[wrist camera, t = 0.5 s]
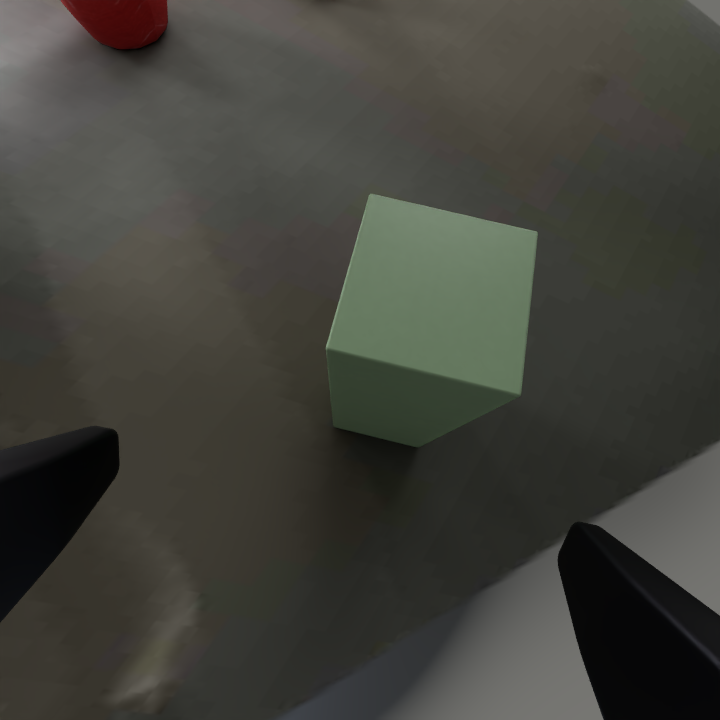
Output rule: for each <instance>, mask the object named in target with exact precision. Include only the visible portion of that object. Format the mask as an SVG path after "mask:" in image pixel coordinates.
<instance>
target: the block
mask: <svg viewBox="0 0 720 720" xmlns="http://www.w3.org/2000/svg"><path fill="white" fill-rule="evenodd" d="M537 237H538V233H537V232H536V231H531V230H527V229H522V228H518V227H514V226H509V225H505V224H501V223H496V222H492V221H488V220H483V219H479V218H475V217H470V216H466V215H462V214H457V213H453V212H449V211H444V210H440V209H436V208H431V207H427V206H423V205H418V204H414V203H410V202H405V201H401V200H396V199H392V198H388V197H383V196H379V195H375V194H370V195H369V198H368V201H367V205H366V208H365V212H364V215H363V219H362V222H361V226H360V229H359V233H358V236H357V240H356V243H355V247H354V250H353V254H352V257H351V261H350V264H349V268H348V271H347V275H346V279H345V282H344V286H343V289H342V293H341V296H340V300H339V303H338V307H337V310H336V314H335V317H334V321H333V324H332V328H331V331H330V335H329V338H328V342H327V345H326V354H327V364H328V375H329V385H330V396H331V406H332V416H333V426H334V427H336V428H340V429H344V430H348V431H352V432H357V433H361V434H365V435H369V436H373V437H377V438H381V439H385V440H389V441H393V442H397V443H401V444H405V445H409V446H413V447H417V448H419V447H421V446H423V445H425V444H427V443H429V442H431V441H433V440H435V439H437V438H439V437H441V436H443V435H445V434H447V433H449V432H451V431H453V430H454V429H456V428H458V427H460V426H462V425H464V424H466V423H468V422H470V421H472V420H474V419H476V418H478V417H480V416H482V415H484V414H486V413H488V412H490V411H492V410H494V409H496V408H498V407H500V406H502V405H504V404H506V403H508V402H510V401H512V400H514V399H516V398H518V397H520V395H521V390H522V380H523V371H524V361H525V352H526V342H527V333H528V323H529V313H530V304H531V294H532V285H533V275H534V266H535V256H536V247H537Z"/></svg>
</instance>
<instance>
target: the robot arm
mask: <svg viewBox="0 0 720 720" xmlns="http://www.w3.org/2000/svg"><path fill="white" fill-rule="evenodd" d="M118 470H119V439H118V434H117V432H116V431H115V430H114V429H110V428H105V427H100V426H90V427H86V428H83V429H79V430H75V431H71V432H67V433H64V434H60V435H56V436H52V437H49V438H45V439H41V440H37V441H34V442H30V443H26V444H22V445H19V446H15V447H11V448H7V449H3V450H0V622H1V621H2V620H3V619H4V618H5V616H6V615H7V614H8V613H9V612H10V611H11V610H12V608H13V607H14V606H15V605H16V604H17V603H18V601H19V600H20V599H21V598H22V597H23V596H24V595H25V593H26V592H27V591H28V590H29V589H30V588H31V586H32V585H33V584H34V583H35V582H36V581H37V579H38V578H39V577H40V576H41V575H42V574H43V573H44V571H45V570H46V569H47V568H48V567H49V566H50V564H51V563H52V562H53V561H54V560H55V559H56V557H57V556H58V555H59V554H60V553H61V551H62V550H63V549H64V548H65V546H66V545H67V544H68V542H69V541H70V540H71V538H72V537H73V536H74V534H75V533H76V532H77V530H78V529H79V527H80V526H81V525H82V523H83V522H84V521H85V519H86V518H87V516H88V515H89V514H90V512H91V511H92V509H93V508H94V507H95V505H96V504H97V502H98V501H99V500H100V498H101V497H102V495H103V494H104V493H105V491H106V490H107V488H108V487H109V486H110V484H111V483H112V482H113V480H114V479H115V477H116V475H117V473H118ZM558 568H559V572H560V576H561V580H562V584H563V588H564V592H565V595H566V599H567V603H568V607H569V611H570V615H571V619H572V623H573V627H574V631H575V635H576V639H577V642H578V645H579V649H580V653H581V655H582V659H583V662H584V665H585V668H586V671H587V674H588V676H589V679H590V682H591V685H592V687H593V691H594V693H595V696H596V699H597V702H598V705H599V708H600V711H601V714H602V716H603V719H604V720H720V616H719V615H718V614H717V613H715V612H714V611H713V610H711V609H710V608H709V607H707V606H706V605H704V604H703V603H702V602H701V601H699V600H698V599H697V598H695V597H694V596H692V595H691V594H690V593H688V592H687V591H686V590H684V589H683V588H682V587H680V586H679V585H678V584H676V583H675V582H674V581H672V580H671V579H670V578H668V577H667V576H665V575H664V574H663V573H661V572H660V571H659V570H658V569H656V568H655V567H653V566H652V565H651V564H649V563H648V562H647V561H645V560H644V559H643V558H641V557H640V556H638V555H637V554H636V553H635V552H633V551H632V550H631V549H629V548H628V547H626V546H625V545H624V544H623V543H621V542H620V541H618V540H617V539H616V538H614V537H613V536H612V535H610V534H609V533H608V532H606V531H605V530H604V529H602V528H601V527H599V526H597V525H593V524H588V523H583V522H576V523H574V524H573V525H572V526H571V528H570V530H569V532H568V534H567V536H566V538H565V540H564V543H563V545H562V547H561V549H560V551H559V554H558Z"/></svg>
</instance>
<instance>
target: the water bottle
mask: <svg viewBox="0 0 720 720" xmlns="http://www.w3.org/2000/svg"><path fill="white" fill-rule="evenodd" d="M61 2H62V3H63V4H64V6H65V7H66V8H67V9H68V10H69V11H70V13H71V14H72V15H73V16H74V17H75V18H76V19H77V20H78V22H79V23H80V24H81V25H82V26H83V27H84V28H85V29H86V30H87V31H88V32H89V33H90V34H91V35H92V36H93V37H94V38H95V39H96V40H97V41H99V42H100V43H102V44H104V45H107V46H110V47H113V48H116V49H134V48H141V47H143V46H145V45H148V44H150V43H152V42H154V41H157V39H158V38H159V37H160V36H161V34H162V33H163V32H164V31H165V30H166V27H167V23H168V15H167V0H61Z"/></svg>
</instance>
